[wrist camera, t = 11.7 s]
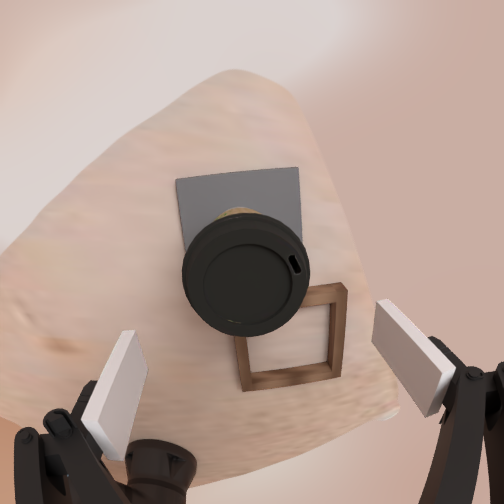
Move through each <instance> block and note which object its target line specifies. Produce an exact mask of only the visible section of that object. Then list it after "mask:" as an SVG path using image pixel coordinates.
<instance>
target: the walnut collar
mask: <svg viewBox="0 0 504 504" xmlns="http://www.w3.org/2000/svg"><path fill="white" fill-rule="evenodd" d="M347 295H348V290H347V289H346V287H345V286H344V285H343V284H342V283H341V282H340V283H333V284H326V285H318V286H311V287H308V289H307V292H306V295H305V297H304V299H303V302H302V304H301V306H300V307H307V306H314V305H321V304H328V303H330V327H329V346H328V362H322V363H317V364H311V365H305V366H299V367H292V368H286V369H279V370H271V371H263V372H255V373H250V365H249V356H248V348H247V340H246V337H239V336H234V338H235V345H236V352H237V359H238V365H239V372H240V378H241V385H242V391H243V392H246V391H255V390H264V389H272V388H279V387H286V386H292V385H299V384H305V383H311V382H316V381H322V380H327V379H332V378H337V377H341V369H342V360H343V350H344V338H345V326H346V312H347ZM300 307H299V308H300Z"/></svg>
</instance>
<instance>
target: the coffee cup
mask: <svg viewBox="0 0 504 504" xmlns="http://www.w3.org/2000/svg"><path fill="white" fill-rule="evenodd" d="M309 280H310V266H309V259H308V256H307V253H306V249H305V247H304V245H303V244H302V242H301V240H300V238H299V237H298V236H297V235H296V234H295V233H294V232H293V230H292V229H291V228H289V227H288V226H286V225H285V224H284V223H282V222H281V221H279V220H277V219H275V218H272V217H270V216H267V215H263V214H261V213H259V212H257V211H255V210H253V209H249V208H246V207H234V208H231V209H228V210H226V211H225V212H223V213H222V214H221V215H219V216H218V217H217V218H216V219H215V220H214V221H213V222H212V223H210V224H209V225H207V226H206V227H204V228H203V229H202V230H201V231H200V232H199V233H198V234H197V235H196V236H195V238H194V239H193V241H192V242H191V244H190V245H189V247H188V249H187V252H186V254H185V257H184V260H183V266H182V282H183V287H184V290H185V294H186V297H187V299H188V301H189V303H190V304H191V306H192V308H193V309H194V310H195V311H196V313H197V314H198V315H199V316H200V317H201V318H202V319H203V320H204V321H205V322H206V323H207V324H209V325H210V326H211V327H213V328H215V329H216V330H218V331H220V332H223V333H225V334H228V335H232V336H239V337H254V336H259V335H264V334H267V333H269V332H272V331H274V330H276V329H278V328H279V327H281V326H283V325H284V324H285V323H286V322H288V321H289V320H290V319H291V318H292V317H293V316H294V314H295V313H296V312H297V311H298V309H299V307H300V306H301V304H302V302H303V299H304V297H305V295H306V292H307V289H308V286H309Z"/></svg>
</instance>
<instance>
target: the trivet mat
mask: <svg viewBox="0 0 504 504" xmlns="http://www.w3.org/2000/svg"><path fill="white" fill-rule="evenodd" d="M176 187H177V195H178V202H179V210H180V217H181V224H182V231H183V237H184V244H185V250H186V252H187V249H188V247H189V245H190V244H191V242H192V241H193V239H194V238H195V236H196V235H197V234H198V233H199V232H200V231H201V230H202V229H203V228H204V227H206V226H207V225H209V224H210V223H212V222H213V221H214V220H215V219H216V218H217V217H218V216H219V215H221V214H222V213H223V212H225V211H226V210H228V209H231V208H234V207H246V208H249V209H253V210H255V211H257V212H259V213H261V214H263V215H267V216H270V217H272V218H275V219H277V220H279V221H281V222H282V223H284V224H285V225H286V226H288V227H289V228H291V229H292V230H293V232H294V233H295V234H296V235H297V236H298V237H299V238H300V240H301V242H302V220H301V201H300V184H299V168H298V167H290V168H275V169H263V170H251V171H240V172H230V173H221V174H212V175H204V176H196V177H188V178H180V179H176Z"/></svg>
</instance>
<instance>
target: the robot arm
mask: <svg viewBox="0 0 504 504" xmlns="http://www.w3.org/2000/svg"><path fill="white" fill-rule="evenodd" d="M372 343H373V344H374V346H375V347H376V348H377V350H378V351H379V352H380V354H381V355H382V357H383V358H384V359H385V361H386V362H387V364H388V365H389V366H390V368H391V369H392V371H393V372H394V373H395V375H396V376H397V378H398V379H399V380H400V382H401V383H402V385H403V386H404V387H405V389H406V390H407V392H408V393H409V395H410V396H411V397H412V399H413V401H414V402H415V403H416V405H417V406H418V408H419V409H420V411H421V412H422V414H423V415H424V417H425V418H426V417H428V416H430V415H433V414H435V413H438V412H439V409H440V407H441V405H442V404H443V405H444V406H445V408H446V410H445V412H444V414H443V416H442V418H441V420H440V423H439V424H441V423H442V425H441V429H440V434H439V438H438V442H437V446H436V450H435V454H434V457H433V461H432V465H431V468H430V471H429V474H428V477H427V481H426V484H425V487H424V489H423V492H422V495H421V498H420V501H419V503H418V504H472V500H473V495H474V491H475V486H476V481H477V475H478V469H479V464H480V457H481V450H482V441H483V435H484V441H485V448H486V456H487V464H488V473H489V484H490V504H504V362H501V363H499V364H498V366H497V369H496V371H493V372H486V373H484V372H483V371H482V370H481V369H479V368H477V367H474V366H470V367H469V366H468V367H466V366H465V364H463V362H462V361H461V360H460V359H459V358H458V357H457V356H456V355H455V354H454V353H453V352H451V350H450V349H449V348H448V347H446V345H445V344H444V343H443V342H442V341H441V340H439V339H437V338H435V337H433V336H431V337H426V336H425V335H424V334H423V333H422V332H421V331H420V330H419V329H418V328H417V327H416V326H415V325H414V324H413V323H412V322H411V321H410V320H409V319H408V318H407V317H406V316H405V315H404V314H403V313H402V312H401V311H400V310H399V309H398V308H397V307H396V306H395V305H394V304H393V303H392V302H391V301H390V300H389V299H384V300H379V301H376V309H375V318H374V327H373V334H372ZM147 373H148V367H147V364H146V361H145V358H144V355H143V352H142V349H141V346H140V343H139V340H138V336H137V333H136V330H125V331H122V333H121V335H120V337H119V339H118V341H117V343H116V345H115V347H114V349H113V351H112V353H111V355H110V357H109V359H108V361H107V363H106V365H105V367H104V369H103V371H102V374H101V376H100V378H99V380H98V381H92V380H91V381H90V382H89V383H88V384H87V385H85V386H84V388H83V390H82V392H81V394H80V396H79V398H78V400H77V402H76V404H75V406H74V408H73V410H72V413H71V415H70V414H69V412H68V411H67V410H65V409H54V410H52V411H50V412H48V413H47V414H46V415H45V417H44V419H43V425H44V427H45V428H46V430H47V431H48V432H49V434H40V435H39V433H38V432H37V431H36V430H35V429H34V428H32V427H25V428H23V429H21V430H20V431H18V433H17V434H16V436H15V442H14V485H15V500H16V504H186V492H187V490H188V488H189V486H190V484H191V482H192V480H193V478H194V476H195V474H196V466H197V462H196V459H195V457H194V456H193V455H192V454H191V453H190V452H188V451H187V450H185V449H183V448H182V447H179V446H177V445H174V444H172V443H168V442H164V441H159V440H137V441H134V442H132V443H130V444H129V445H128V442H129V438H130V434H131V430H132V426H133V422H134V419H135V415H136V411H137V408H138V404H139V400H140V397H141V393H142V390H143V386H144V383H145V380H146V376H147ZM127 445H128V446H127ZM102 453H104V455H105V456H106V457H107V459H108V460H116V461H124V458H125V464H126V470H127V476H128V483H127V485H124V484H122V483H119V482H117V481H115V480H114V478H113V477H112V475H111V474H110V472H109V471H108V469H107V468H106V466H105V464H104V463H103V461H102V460H101V457H102Z"/></svg>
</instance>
